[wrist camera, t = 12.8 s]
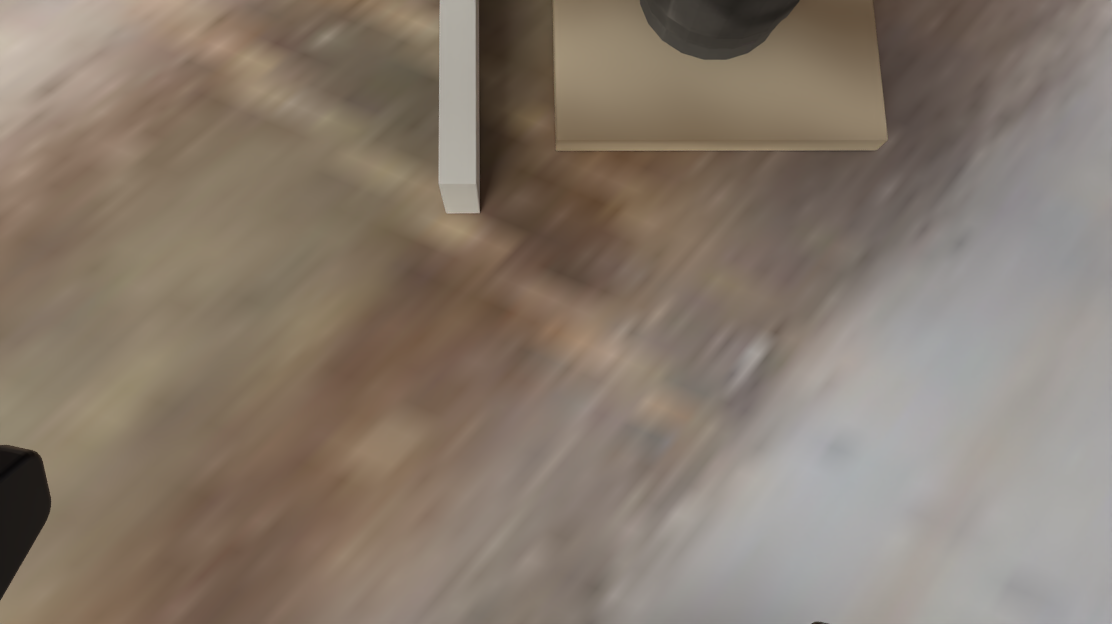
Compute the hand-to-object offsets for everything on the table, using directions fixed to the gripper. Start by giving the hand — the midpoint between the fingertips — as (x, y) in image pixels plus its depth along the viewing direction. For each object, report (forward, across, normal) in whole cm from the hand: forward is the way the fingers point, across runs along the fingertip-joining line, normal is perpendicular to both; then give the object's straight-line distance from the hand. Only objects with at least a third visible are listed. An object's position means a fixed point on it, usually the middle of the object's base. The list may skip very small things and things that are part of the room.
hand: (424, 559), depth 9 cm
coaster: (+22, -4, -2) cm, 22 cm away
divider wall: (+20, +4, -1) cm, 21 cm away
